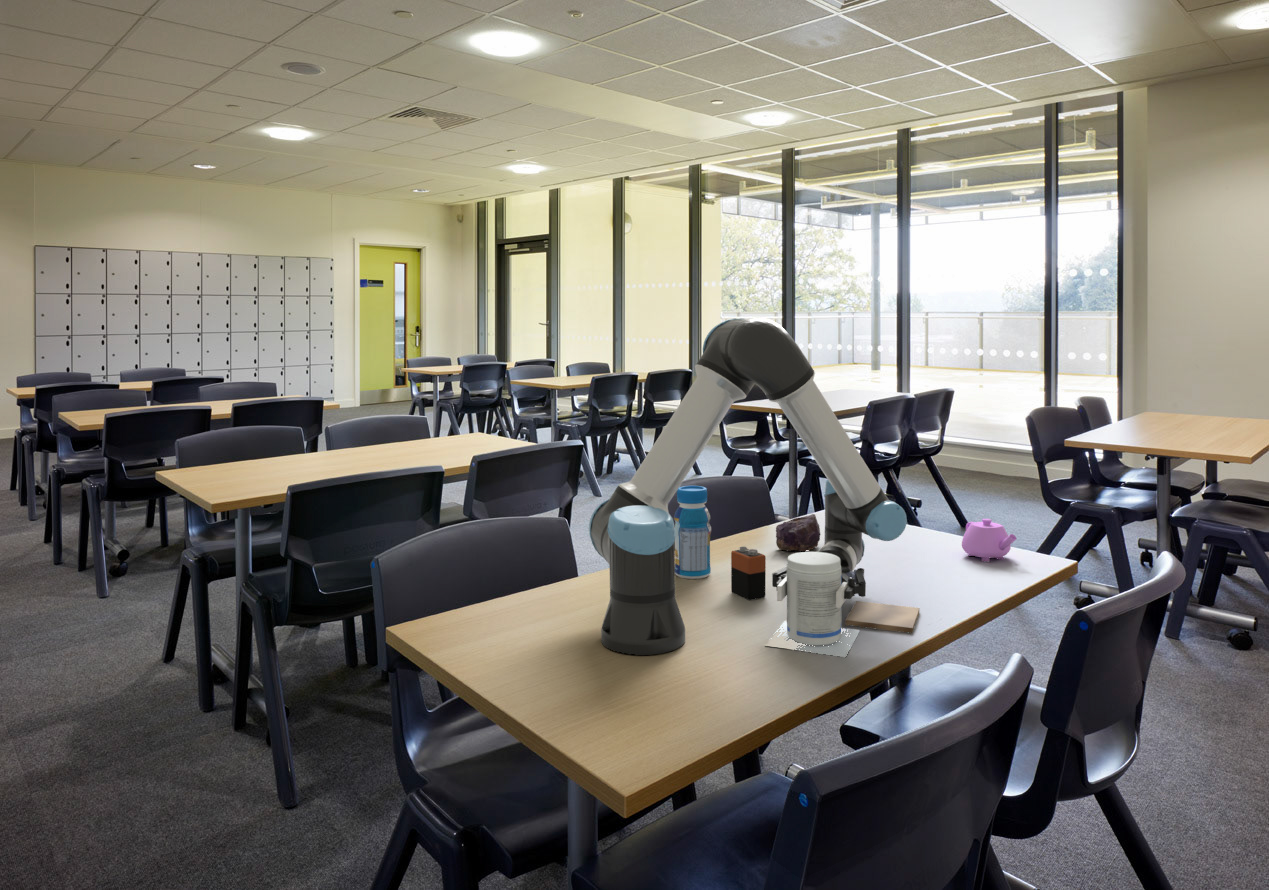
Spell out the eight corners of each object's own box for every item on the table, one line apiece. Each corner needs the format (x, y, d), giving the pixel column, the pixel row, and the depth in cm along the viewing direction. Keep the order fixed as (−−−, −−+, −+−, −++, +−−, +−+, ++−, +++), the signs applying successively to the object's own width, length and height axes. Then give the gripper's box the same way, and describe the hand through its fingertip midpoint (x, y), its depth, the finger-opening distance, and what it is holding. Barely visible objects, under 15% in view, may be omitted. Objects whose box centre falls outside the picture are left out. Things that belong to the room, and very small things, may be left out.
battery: (749, 601, 174) (749, 553, 172) (730, 592, 180) (730, 546, 178) (766, 597, 176) (766, 550, 174) (747, 589, 182) (747, 543, 180)
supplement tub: (852, 639, 151) (854, 559, 149) (814, 651, 146) (815, 568, 144) (812, 624, 159) (813, 547, 157) (775, 635, 154) (775, 556, 152)
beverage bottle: (691, 582, 187) (690, 493, 185) (666, 574, 194) (665, 488, 191) (719, 575, 192) (718, 488, 190) (693, 567, 199) (692, 483, 196)
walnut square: (845, 625, 159) (845, 619, 159) (856, 605, 170) (856, 600, 169) (912, 633, 154) (912, 628, 154) (919, 612, 165) (919, 607, 165)
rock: (773, 552, 216) (794, 561, 207) (768, 520, 215) (789, 527, 205) (813, 540, 220) (835, 548, 210) (808, 508, 218) (830, 515, 209)
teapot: (980, 548, 212) (982, 511, 210) (1030, 563, 198) (1032, 523, 197) (948, 553, 208) (949, 516, 206) (996, 568, 194) (998, 528, 193)
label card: (764, 646, 149) (764, 645, 149) (784, 621, 161) (784, 620, 161) (845, 657, 143) (845, 657, 143) (859, 630, 156) (859, 629, 156)
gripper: (891, 588, 163) (873, 625, 143) (778, 576, 172) (746, 610, 152) (892, 550, 162) (874, 582, 142) (778, 540, 171) (746, 569, 151)
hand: (808, 596), depth 147 cm, fingers closed on supplement tub, 9 cm apart
